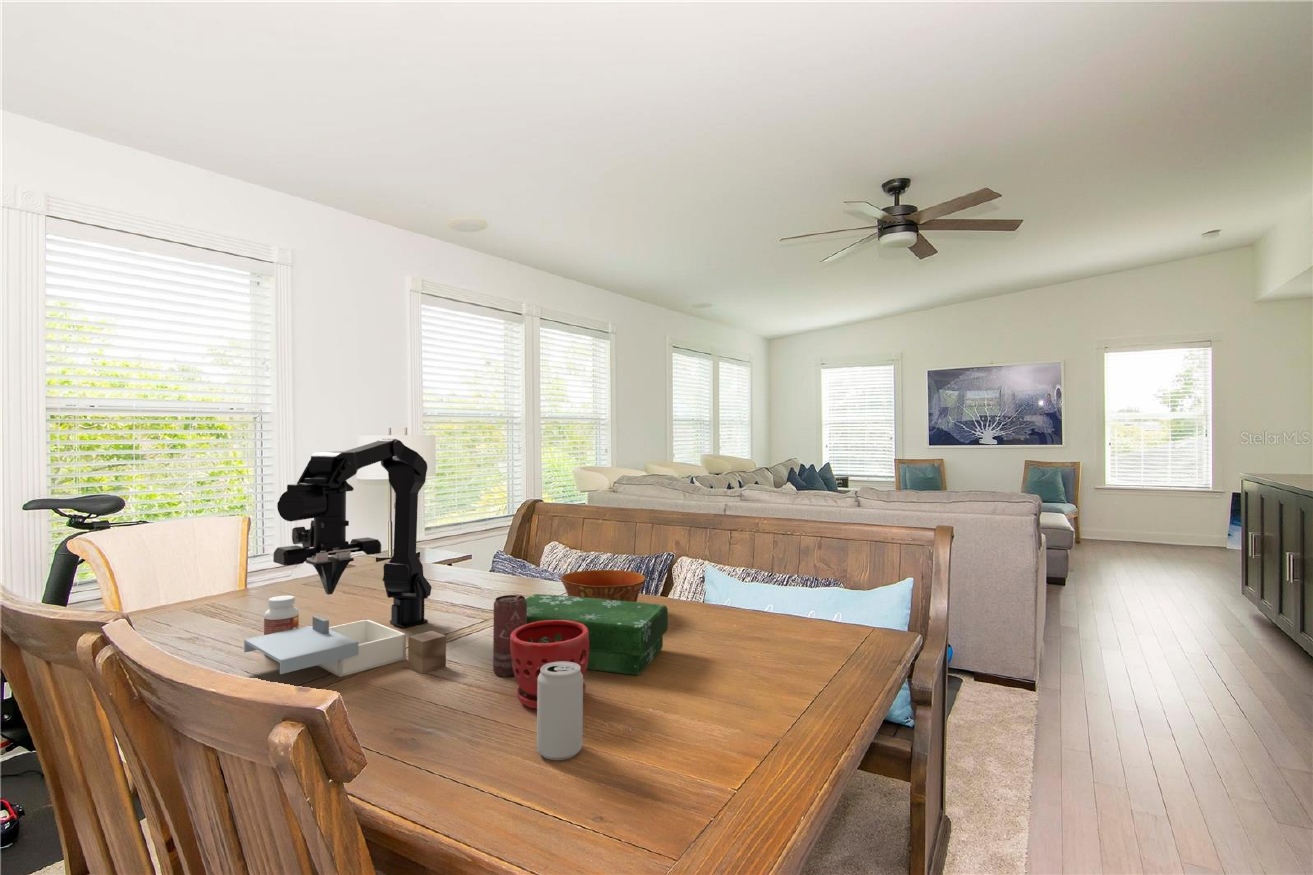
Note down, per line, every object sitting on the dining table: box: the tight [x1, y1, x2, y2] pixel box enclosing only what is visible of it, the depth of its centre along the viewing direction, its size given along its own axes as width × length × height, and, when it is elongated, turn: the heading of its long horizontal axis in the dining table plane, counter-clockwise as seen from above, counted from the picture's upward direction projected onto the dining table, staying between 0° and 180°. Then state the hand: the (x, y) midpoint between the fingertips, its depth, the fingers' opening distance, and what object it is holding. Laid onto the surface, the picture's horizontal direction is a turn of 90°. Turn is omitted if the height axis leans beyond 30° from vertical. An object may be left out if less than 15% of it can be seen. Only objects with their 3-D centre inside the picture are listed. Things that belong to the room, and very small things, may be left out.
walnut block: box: [407, 630, 447, 674], centre depth 127 cm, size 5×5×6 cm
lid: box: [243, 615, 358, 675], centre depth 123 cm, size 13×17×5 cm
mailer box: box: [317, 618, 407, 678], centre depth 131 cm, size 13×16×5 cm
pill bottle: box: [263, 595, 300, 635], centre depth 135 cm, size 6×6×11 cm
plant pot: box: [510, 620, 589, 710], centre depth 111 cm, size 13×13×12 cm
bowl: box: [560, 569, 647, 602], centre depth 163 cm, size 21×21×10 cm
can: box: [492, 594, 527, 678], centre depth 124 cm, size 6×6×14 cm
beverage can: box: [536, 661, 584, 761], centre depth 93 cm, size 6×6×12 cm
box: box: [525, 593, 669, 676], centre depth 134 cm, size 32×18×10 cm, turn 73°
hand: (329, 594), depth 130 cm, fingers closed
